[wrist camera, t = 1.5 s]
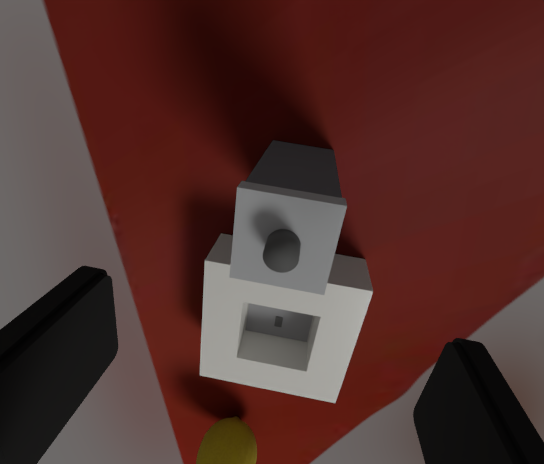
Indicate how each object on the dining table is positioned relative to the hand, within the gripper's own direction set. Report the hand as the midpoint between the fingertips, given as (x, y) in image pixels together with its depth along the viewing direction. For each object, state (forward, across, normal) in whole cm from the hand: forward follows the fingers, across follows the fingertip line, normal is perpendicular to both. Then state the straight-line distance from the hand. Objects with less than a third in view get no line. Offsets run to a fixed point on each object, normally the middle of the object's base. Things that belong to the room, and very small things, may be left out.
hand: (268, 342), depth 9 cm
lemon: (+16, +2, +26) cm, 31 cm away
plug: (+15, 0, -1) cm, 15 cm away
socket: (+15, 0, +10) cm, 18 cm away
